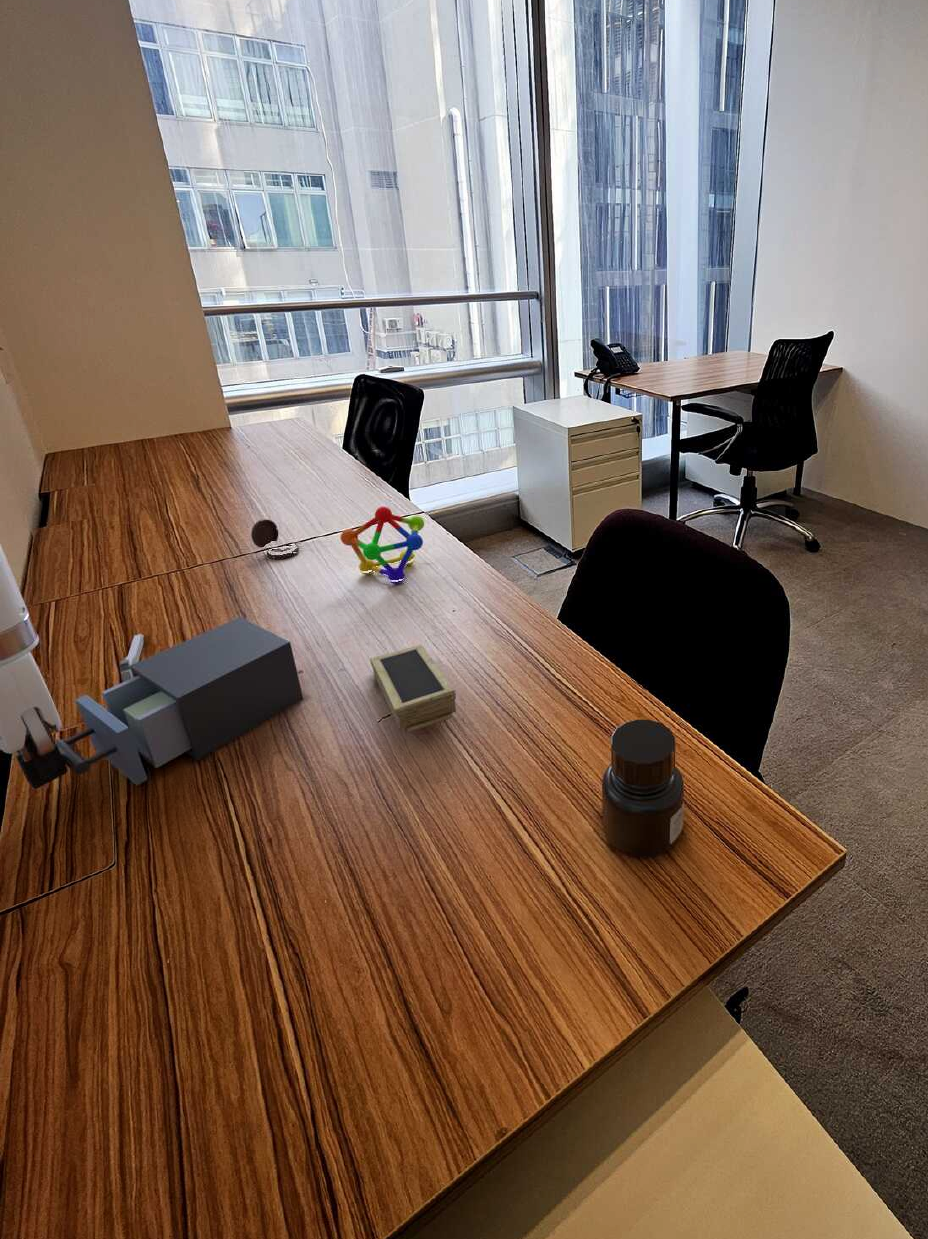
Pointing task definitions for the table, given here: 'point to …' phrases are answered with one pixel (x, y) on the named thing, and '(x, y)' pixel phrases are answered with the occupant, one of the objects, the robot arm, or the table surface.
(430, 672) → the box
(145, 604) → the table surface
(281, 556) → the compass
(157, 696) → the block
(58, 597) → the table surface
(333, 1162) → the table surface
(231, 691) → the cabinet
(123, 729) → the drawer
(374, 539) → the educational toy
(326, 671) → the table surface
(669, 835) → the ink bottle
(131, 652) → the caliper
